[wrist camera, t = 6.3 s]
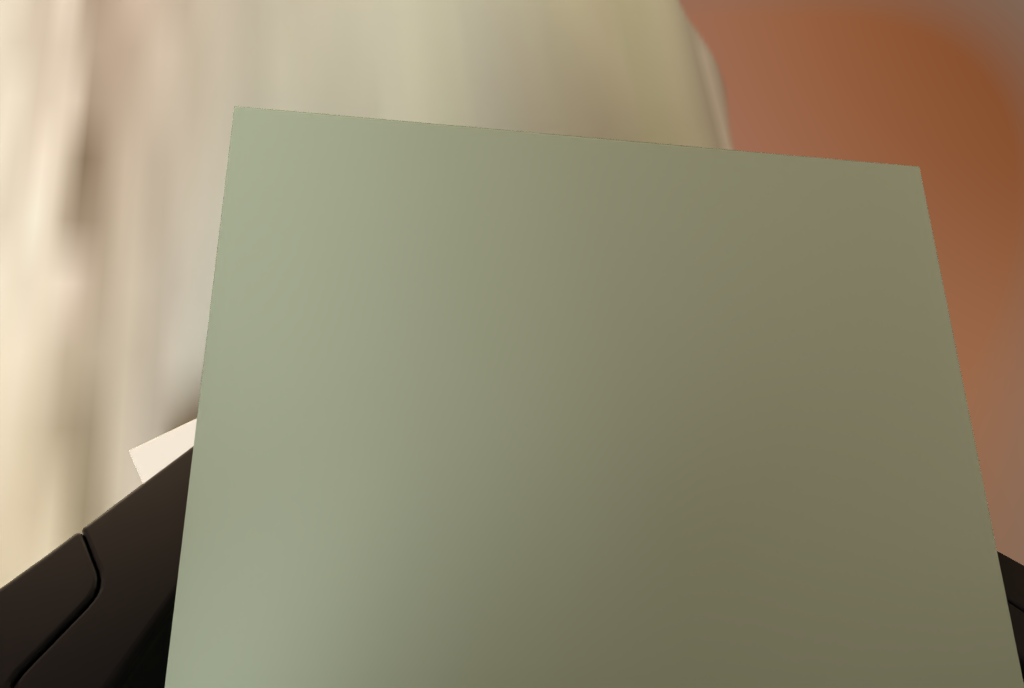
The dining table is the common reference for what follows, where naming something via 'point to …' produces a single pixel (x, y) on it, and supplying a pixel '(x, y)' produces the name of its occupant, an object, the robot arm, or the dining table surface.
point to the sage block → (578, 422)
